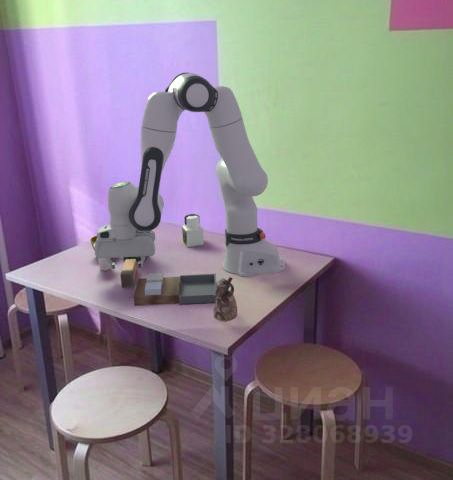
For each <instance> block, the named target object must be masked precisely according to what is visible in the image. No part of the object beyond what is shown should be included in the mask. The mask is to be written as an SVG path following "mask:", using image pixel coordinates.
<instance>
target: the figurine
mask: <svg viewBox="0 0 453 480" xmlns="http://www.w3.org/2000/svg"><path fill="white" fill-rule="evenodd" d="M232 280H233V277H231V276H229V277H228V279H227V278H224V277H223V278H220V279H219V280H218V281H216V283H217V288H216V292H215V293H214V295H215V296H216V299H215V303H214V307H213V318H214V319H215V320H216V321H221V322H229V321H233V320H235V318H237V315H238V305H237V300H236V297H235V295H234V293H235V287H234V285H233V284H232V283H231V282H232ZM229 288H230V290H229Z"/></svg>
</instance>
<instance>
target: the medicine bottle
mask: <svg viewBox="0 0 453 480" xmlns="http://www.w3.org/2000/svg"><path fill="white" fill-rule="evenodd" d="M200 221H201V220H200V215H198V214H195V213H189V214H186V215H185V216H184V225H182V226H181V229H182V231H181V233H182V242H183V243H184V245H185V247H186V248H191V247H192V248H193V247H198V246H204V245H205V242H204V241H205V240H204V239H205V238H204V228H203V227H202V226H201V223H200Z"/></svg>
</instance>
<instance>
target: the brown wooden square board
mask: <svg viewBox="0 0 453 480" xmlns="http://www.w3.org/2000/svg"><path fill="white" fill-rule="evenodd" d="M163 278H164V279H163V285H162V292H161V295H145V285H146V283H147V277H143V278H137V281H136V287H135V290H134V294H133V298H132V299H133V306H134V307H139V306H140V307H141V306H144V307H145V306H158V305H159V306H160V305H162V306H163V305H179V296H180V284H181V281H180V276H163Z"/></svg>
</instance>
